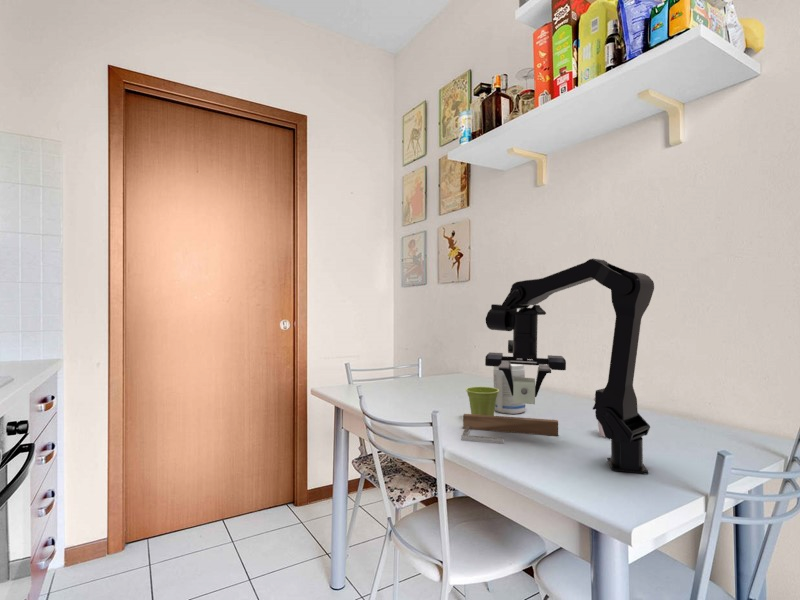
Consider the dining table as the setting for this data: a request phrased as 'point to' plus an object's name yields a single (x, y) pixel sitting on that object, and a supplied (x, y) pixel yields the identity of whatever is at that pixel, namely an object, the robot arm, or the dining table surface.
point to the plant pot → (482, 400)
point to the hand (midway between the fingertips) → (524, 396)
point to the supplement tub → (507, 390)
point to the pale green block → (524, 390)
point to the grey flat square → (479, 437)
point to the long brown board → (511, 424)
